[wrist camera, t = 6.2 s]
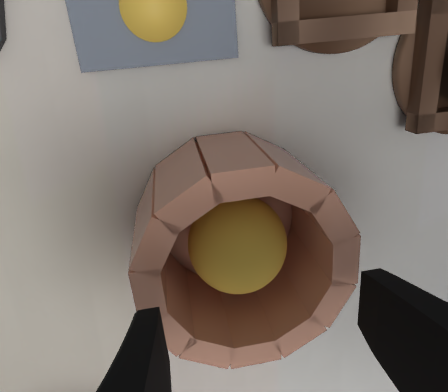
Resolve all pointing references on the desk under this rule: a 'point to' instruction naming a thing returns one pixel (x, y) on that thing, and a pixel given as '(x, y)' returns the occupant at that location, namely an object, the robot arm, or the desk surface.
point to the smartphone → (2, 24)
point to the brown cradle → (424, 70)
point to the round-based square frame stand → (337, 22)
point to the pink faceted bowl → (268, 295)
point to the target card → (151, 32)
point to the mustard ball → (238, 246)
